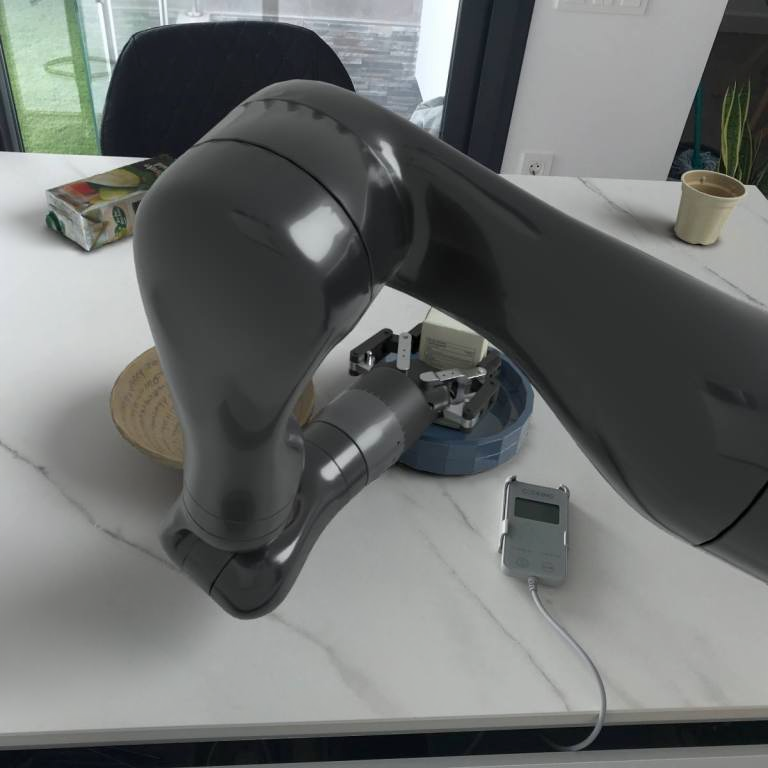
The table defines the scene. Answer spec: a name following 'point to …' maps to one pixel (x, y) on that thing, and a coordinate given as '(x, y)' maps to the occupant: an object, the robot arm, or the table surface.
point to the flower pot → (706, 205)
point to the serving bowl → (477, 430)
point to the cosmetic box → (450, 347)
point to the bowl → (163, 410)
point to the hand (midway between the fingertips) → (463, 342)
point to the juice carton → (103, 202)
